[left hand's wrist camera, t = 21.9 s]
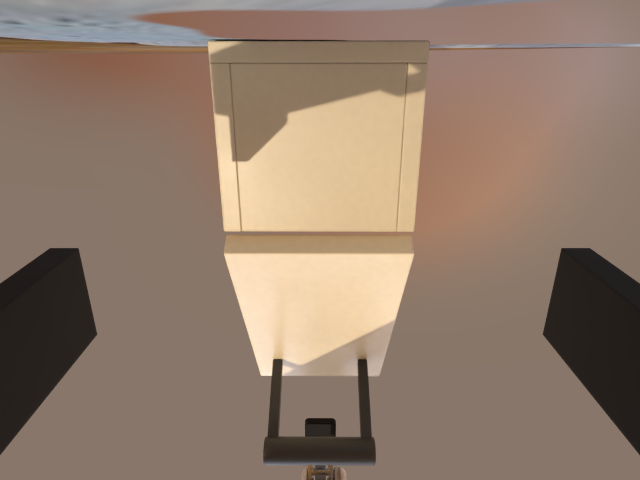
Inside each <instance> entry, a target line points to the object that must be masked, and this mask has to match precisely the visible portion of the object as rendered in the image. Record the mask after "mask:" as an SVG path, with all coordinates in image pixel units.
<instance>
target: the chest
mask: <svg viewBox="0 0 640 480" xmlns="http://www.w3.org/2000/svg"><path fill="white" fill-rule="evenodd" d="M429 45H430V42H429V41H208V51H209V62H210V75H211V86H212V98H213V110H214V121H215V133H216V144H217V156H218V168H219V179H220V191H221V202H222V214H223V226H224V231H241V230H242V231H396V230H397V231H414V227H415V215H416V203H417V191H418V179H419V166H420V154H421V142H422V130H423V118H424V106H425V94H426V82H427V69H428V64H427V62H428V57H429Z"/></svg>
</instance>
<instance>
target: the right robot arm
mask: <svg viewBox="0 0 640 480" xmlns="http://www.w3.org/2000/svg"><path fill="white" fill-rule="evenodd" d="M305 437H336V421H335V419H333V418H308V419H306V420H305ZM312 475H315V480H326V476H329V477H328V478H327V480H347V478H346V472H345V470H344V469H343V468H342V467H334V468H333V465H328V468H326V465H315V468H313V465H308V469H307V468H305V469H304V470H303V472H302V478H301V480H314V479H313V477H312Z"/></svg>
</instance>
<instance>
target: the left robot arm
mask: <svg viewBox="0 0 640 480" xmlns="http://www.w3.org/2000/svg"><path fill="white" fill-rule="evenodd" d="M96 335H97V332H96V327H95V322H94V318H93V313H92V309H91V304H90V299H89V295H88V290H87V286H86V281H85V276H84V272H83V267H82V262H81V258H80V253H79V249H78V248H50V249H48V250H47V251H46V252H44V253H43V254H41V255H40V256H39V257H37V258H36V259H34V260H33V261H32V262H30V263H29V264H27V265H26V266H24V267H23V268H22V269H20V270H19V271H17V272H16V273H15V274H13V275H12V276H10V277H9V278H8V279H6V280H5V281H3V282H2V283H0V454H1V453H2V452H3V451H4V450H5V448H6V447H7V446H8V445H9V443H10V442H11V441H12V440H13V438H14V437H15V436H16V435H17V433H18V432H19V431H20V430H21V428H22V427H23V426H24V425H25V423H26V422H27V421H28V420H29V418H30V417H31V416H32V415H33V413H34V412H35V411H36V410H37V409H38V407H39V406H40V405H41V404H42V402H43V401H44V400H45V399H46V397H47V396H48V395H49V394H50V392H51V391H52V390H53V389H54V387H55V386H56V385H57V384H58V382H59V381H60V380H61V379H62V377H63V376H64V375H65V374H66V373H67V371H68V370H69V369H70V368H71V366H72V365H73V364H74V363H75V361H76V360H77V359H78V358H79V356H80V355H81V354H82V353H83V351H84V350H85V349H86V348H87V346H88V345H89V344H90V343H91V341H92V340H93V339H94V338H95V336H96ZM543 335H544V336H545V338H546V339H547V340H548V341H549V343H550V344H551V345H552V346H553V348H554V349H555V350H556V351H557V353H558V354H559V355H560V356H561V358H562V359H563V360H564V361H565V363H566V364H567V365H568V366H569V368H570V369H571V370H572V371H573V373H574V374H575V375H576V376H577V377H578V379H579V380H580V381H581V382H582V384H583V385H584V386H585V387H586V389H587V390H588V391H589V392H590V394H591V395H592V396H593V397H594V399H595V400H596V401H597V402H598V404H599V405H600V406H601V407H602V408H603V410H604V411H605V412H606V414H607V415H608V416H609V417H610V419H611V420H612V421H613V422H614V423H615V425H616V426H617V427H618V428H619V430H620V431H621V432H622V433H623V435H624V436H625V437H626V438H627V440H628V441H629V442H630V443H631V445H632V446H633V447H634V448H635V450H636V451H637V452H638V453H639V455H640V283H638V282H637V281H635V280H634V279H632V278H631V277H630V276H628V275H627V274H625V273H624V272H623V271H621V270H620V269H618V268H617V267H616V266H614V265H613V264H611V263H610V262H608V261H607V260H606V259H604V258H603V257H601V256H600V255H599V254H597V253H596V252H594V251H593V250H592V249H590V248H562V249H561V253H560V258H559V262H558V267H557V272H556V276H555V281H554V286H553V290H552V295H551V299H550V304H549V309H548V313H547V318H546V322H545V327H544V332H543Z"/></svg>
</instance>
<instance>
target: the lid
mask: <svg viewBox="0 0 640 480" xmlns="http://www.w3.org/2000/svg"><path fill="white" fill-rule="evenodd" d="M224 256H225V259H226V262H227V266H228V269H229V272H230V276H231V279H232V282H233V285H234V288H235V292H236V295H237V298H238V302H239V305H240V308H241V311H242V314H243V318H244V321H245V324H246V328H247V331H248V334H249V338H250V341H251V344H252V347H253V350H254V354H255V357H256V360H257V364H258V367H259V370H260V373H261V375H262V376H272V381H271V395H270V409H269V424H268V437H266V438H265V441H264V450H263V461H264V464H265V465H375V462H376V448H375V440H374V438H373V437H372V433H371V416H370V399H369V382H368V376H379V375H380V372H381V368H382V365H383V361H384V358H385V355H386V351H387V347H388V344H389V341H390V337H391V334H392V330H393V327H394V323H395V320H396V316H397V313H398V309H399V306H400V302H401V298H402V295H403V292H404V288H405V285H406V281H407V278H408V274H409V271H410V267H411V264H412V260H413V257H414V248H413V241H412V236H411V235H227V237H226V242H225V249H224ZM282 376H358V389H359V411H360V432H361V437H279V422H280V405H281V387H282Z"/></svg>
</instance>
